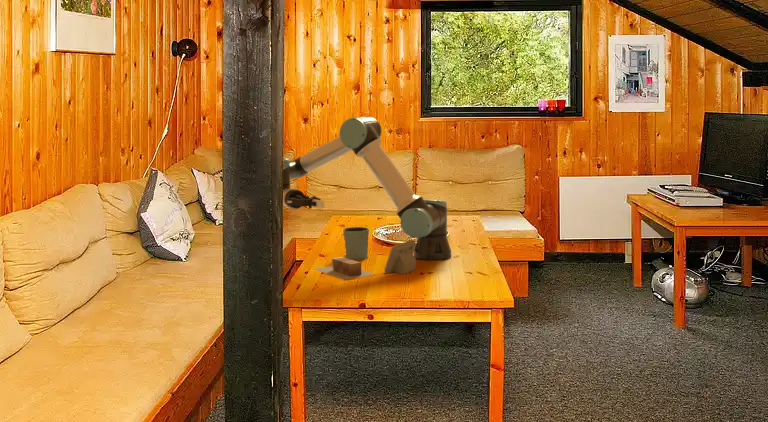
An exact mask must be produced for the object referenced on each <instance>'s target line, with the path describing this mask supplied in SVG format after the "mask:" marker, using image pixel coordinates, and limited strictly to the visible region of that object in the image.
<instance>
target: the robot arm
mask: <svg viewBox="0 0 768 422" xmlns="http://www.w3.org/2000/svg"><path fill="white" fill-rule="evenodd" d="M382 133H383V132H382V127H381V124H380V122H379V121H378V120H377V119H376V118H374V117H372V116H369V115H368V116H367V115H365V116H353V117H349V118H348V119H345V121H344V122H343V123H342V124H341V126H340V127H339V134H338V135H339V136H337V137H336V138H334V139H332V140H330V141H328V142H325V143H324V144H322V145H320V146H318V147H316V148H314V149H312V150H311V151H309V152H307V153H305V154H303V155H301V156H299V157H297V158H295V159H293V160H290V159H289V158H288V157H283V158H284V161H283V206H282V207H287V208H288V209H296V210H298V209H300V208H302V207H304V208H306V207H308V208H309V209H312V208H318V209H325V201H324V200H321V198H319V197H318V196H316V195H313V196H311V197H310V196H309V195H306V194H304V192H302V191H301V190H299V189H294V188H291V180H294V179H300V178H302V177H305V176H307V174H308V173H310V172H312V171H314V170H316V169H318V168H320V167H322V166H324V165H327V164H329V163H330V162H332V161H333V160H336V159H338V158H340V157H342V156H344V155H346V154H348V153H350V152H353V153H354V154H355V156H356V157H357V158H361V159H363V161H364V162H365V164H367V166H368V168H369V170H371V172H372V173H373V175H374V176H375V178H376V179H377V181H378V182H379V183H380V185H381V187H383V190H384V191H385V192H386V193H387V195H388V196H389V198H390V199H391V201H392V202H393V204H394V205H395V207H396V208H397V210H396V215H397V216H398V218H399V219H400V222H399V223H400V227H401V229H402V231H403V232H404V234H405V235H407V236H408V237H411V238H412V239H413V238H414V239H416V241H415V242H416V245H415V248H414V251H413V256H414V257H415V259H419V260H426V261H436V260H446V259H449V258H451V257H452V249H451V248H452V247H451V246H450V243H449V239H448V206H447V205H448V203H447V201H446V200H444V199H424V197H422V196H421V195H417V194H415V192H414V191H413V189H412V188H411V186H410V185H409V183H408V182H407V181H406V179H405V177H403V175H402V174H401V172H400V171H399V169H398V168H397V167H396V165H395V164H394V162H393V161H392V159H391V157H390V156H389V155H388V154H387V152H386V150H385V149H384V148H383V146H382V137H381V136H382Z"/></svg>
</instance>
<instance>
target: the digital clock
mask: <svg viewBox="0 0 768 422" xmlns="http://www.w3.org/2000/svg"><path fill="white" fill-rule="evenodd" d="M416 242H417V241H415V240H413V239H411V240H408V241H404V242H401V243H399V244H395V245H392V246H391V248H390V251H389V253H388V257H387V260H386V264H385V266H384V273H385V274H392V273H396V274H399V275H401V274H402V275H405V274H408V273H411V272H412V271H414V270H416V269H417V266H416V265H417V263H416V262H417V258H415V257H414V248H415V245H416Z"/></svg>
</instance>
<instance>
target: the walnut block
mask: <svg viewBox="0 0 768 422" xmlns="http://www.w3.org/2000/svg"><path fill="white" fill-rule="evenodd" d="M331 266H332V270H333V271H336V272H339V273H342V274H345V275H348V276H351V277H352V276H358V275H361V270H362V262H360V261H358V260H351V259H347V258H346V257H344V256H339V257H333V258H331Z"/></svg>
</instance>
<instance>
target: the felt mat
mask: <svg viewBox="0 0 768 422" xmlns="http://www.w3.org/2000/svg"><path fill="white" fill-rule="evenodd" d="M314 270H316V271H319V272H321V273H324V274H328V275H330V276H333V277H336V278H339V279H342V280H349V279H357V278H363V277H368V276H373V275H375V276H376V274H375V273H372V272H369V271H366V270H362V269H361V275H358V276H352V277H351V276H348V275H345V274H342V273H339V272H336V271H333V270H332V265H331V266H330V265H329V266H322V267H317V268H314Z"/></svg>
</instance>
